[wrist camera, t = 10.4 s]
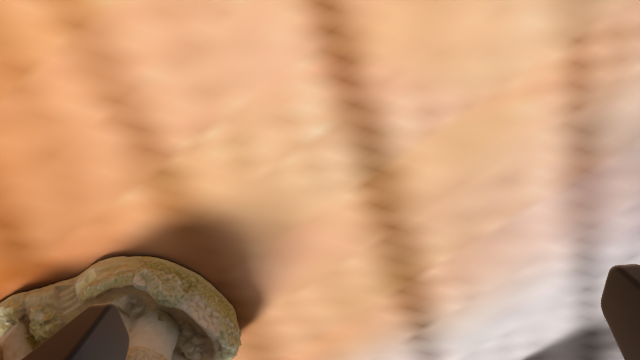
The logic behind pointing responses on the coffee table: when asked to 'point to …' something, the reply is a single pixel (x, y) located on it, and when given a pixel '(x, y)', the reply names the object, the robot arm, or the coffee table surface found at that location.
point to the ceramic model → (129, 311)
